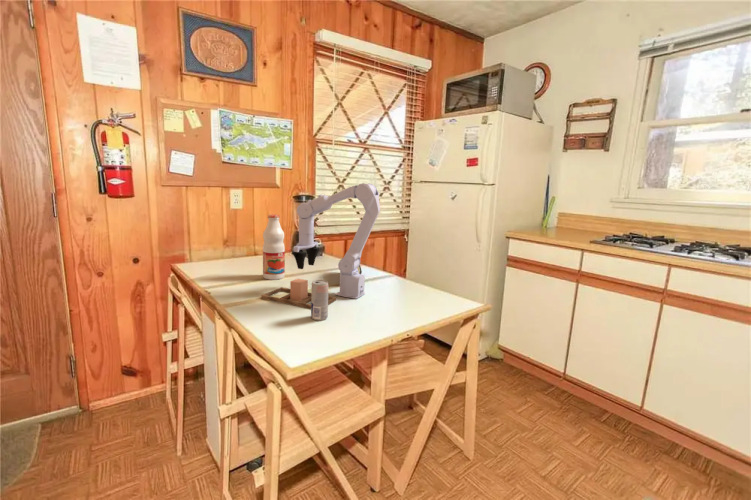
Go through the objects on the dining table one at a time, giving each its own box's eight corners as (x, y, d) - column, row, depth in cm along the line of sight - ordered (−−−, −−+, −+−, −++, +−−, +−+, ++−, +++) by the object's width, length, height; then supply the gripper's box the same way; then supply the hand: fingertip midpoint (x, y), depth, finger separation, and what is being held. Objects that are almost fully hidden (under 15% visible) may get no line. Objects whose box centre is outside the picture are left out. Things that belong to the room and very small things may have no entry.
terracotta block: (307, 298, 137) (307, 280, 135) (300, 301, 132) (300, 283, 131) (297, 296, 138) (297, 278, 137) (290, 299, 134) (290, 281, 133)
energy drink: (319, 313, 122) (320, 279, 120) (331, 317, 119) (332, 282, 117) (307, 317, 118) (308, 282, 116) (318, 322, 115) (319, 285, 113)
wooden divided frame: (336, 300, 136) (336, 297, 136) (319, 310, 125) (319, 306, 125) (281, 290, 145) (281, 287, 145) (261, 298, 134) (261, 295, 134)
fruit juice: (277, 273, 170) (277, 213, 165) (288, 277, 164) (289, 215, 159) (258, 276, 163) (258, 214, 158) (270, 281, 157) (269, 216, 152)
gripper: (307, 230, 152) (307, 262, 154) (286, 234, 139) (286, 269, 141) (322, 232, 149) (321, 264, 152) (302, 236, 136) (302, 271, 139)
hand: (305, 266), depth 146 cm, fingers open, 7 cm apart
